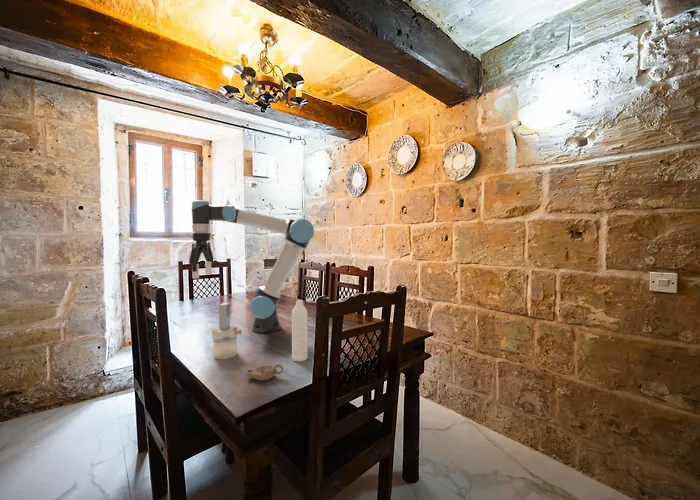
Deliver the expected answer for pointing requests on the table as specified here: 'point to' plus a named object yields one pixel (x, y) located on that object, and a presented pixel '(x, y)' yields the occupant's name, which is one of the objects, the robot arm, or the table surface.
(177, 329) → the table surface
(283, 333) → the table surface
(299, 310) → the water bottle
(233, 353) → the jar
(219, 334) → the lid
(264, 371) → the oil lamp
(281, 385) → the table surface
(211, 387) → the table surface
